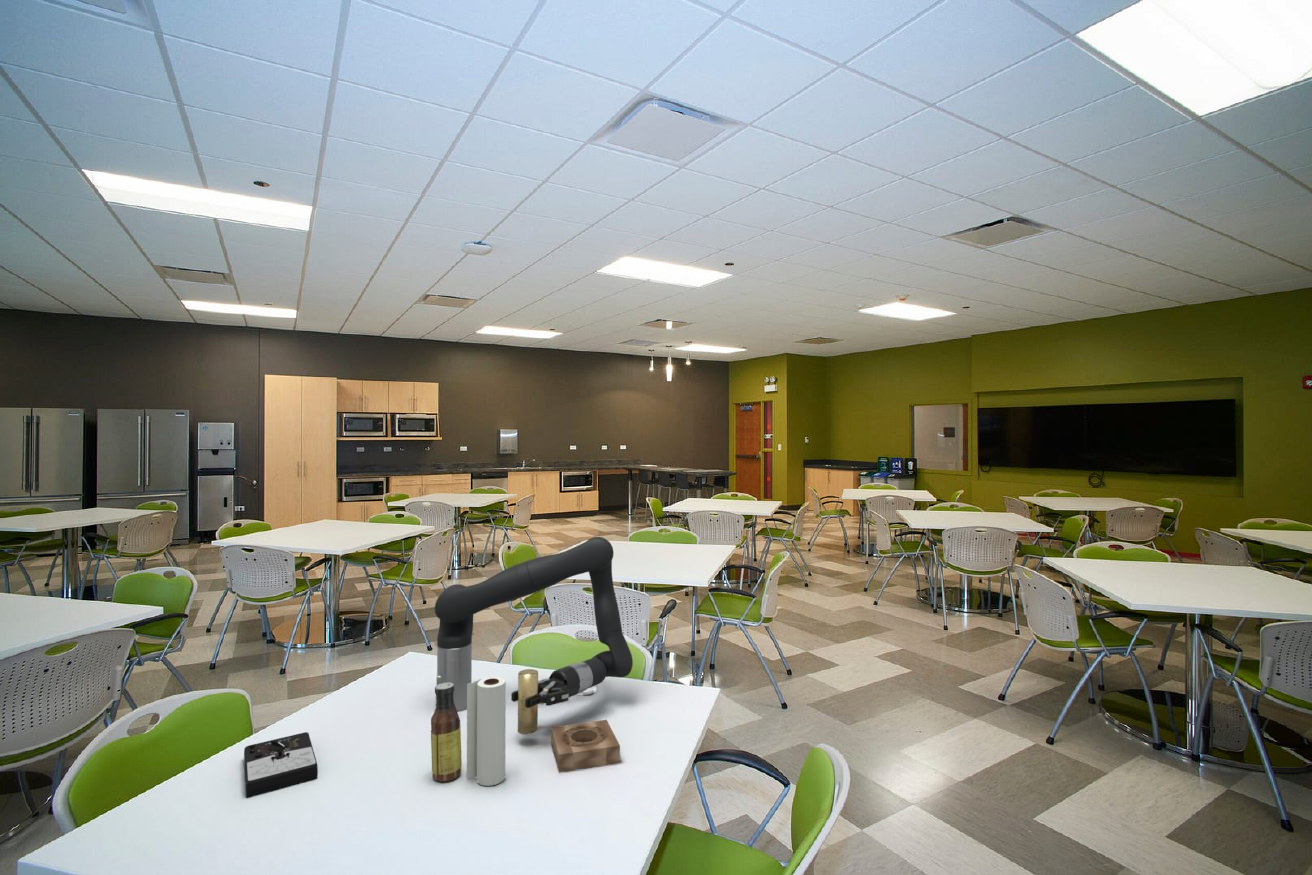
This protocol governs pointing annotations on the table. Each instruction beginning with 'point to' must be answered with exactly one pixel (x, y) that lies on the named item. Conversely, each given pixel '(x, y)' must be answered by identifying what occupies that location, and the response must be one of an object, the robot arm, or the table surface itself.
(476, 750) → the paper towel roll
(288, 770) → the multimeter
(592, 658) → the robot arm
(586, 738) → the jig
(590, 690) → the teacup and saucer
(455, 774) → the sauce bottle
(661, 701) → the table surface
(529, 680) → the yellow cylinder peg
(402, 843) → the table surface
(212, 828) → the table surface
